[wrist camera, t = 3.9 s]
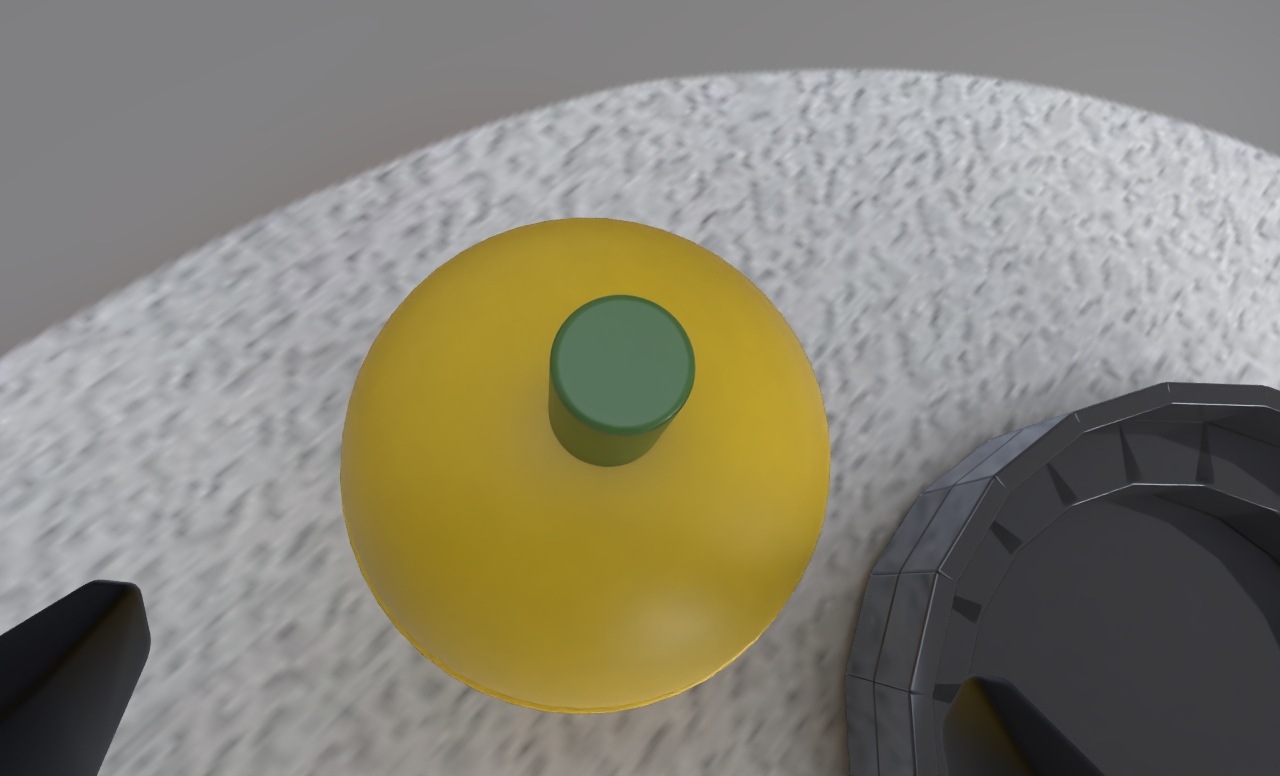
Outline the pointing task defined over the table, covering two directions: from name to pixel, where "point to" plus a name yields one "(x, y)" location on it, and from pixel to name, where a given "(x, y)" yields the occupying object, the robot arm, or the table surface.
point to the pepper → (584, 465)
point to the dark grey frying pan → (1091, 589)
